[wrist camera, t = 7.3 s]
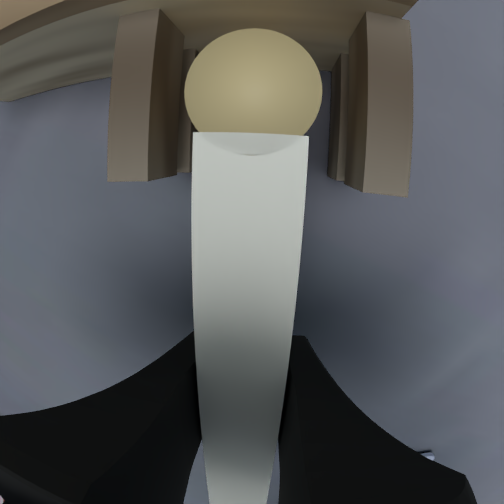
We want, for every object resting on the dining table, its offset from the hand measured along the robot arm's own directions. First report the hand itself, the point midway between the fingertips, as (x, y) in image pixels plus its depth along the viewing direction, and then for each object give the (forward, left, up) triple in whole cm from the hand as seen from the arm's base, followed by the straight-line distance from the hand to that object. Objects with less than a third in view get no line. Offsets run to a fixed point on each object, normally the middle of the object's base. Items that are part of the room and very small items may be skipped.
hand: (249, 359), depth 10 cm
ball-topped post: (0, 0, -3) cm, 3 cm away
